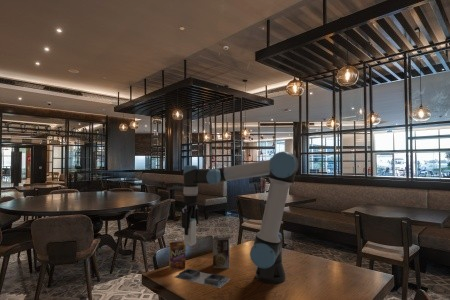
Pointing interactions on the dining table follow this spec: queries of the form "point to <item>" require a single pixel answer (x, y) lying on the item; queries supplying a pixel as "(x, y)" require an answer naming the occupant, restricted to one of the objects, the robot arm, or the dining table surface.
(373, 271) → the dining table surface
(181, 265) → the candy box
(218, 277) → the panel
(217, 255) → the coffee box
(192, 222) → the white rectangular bottle
